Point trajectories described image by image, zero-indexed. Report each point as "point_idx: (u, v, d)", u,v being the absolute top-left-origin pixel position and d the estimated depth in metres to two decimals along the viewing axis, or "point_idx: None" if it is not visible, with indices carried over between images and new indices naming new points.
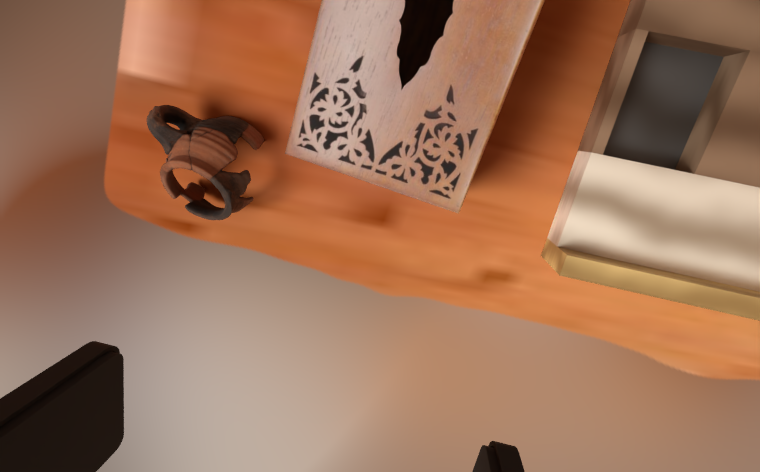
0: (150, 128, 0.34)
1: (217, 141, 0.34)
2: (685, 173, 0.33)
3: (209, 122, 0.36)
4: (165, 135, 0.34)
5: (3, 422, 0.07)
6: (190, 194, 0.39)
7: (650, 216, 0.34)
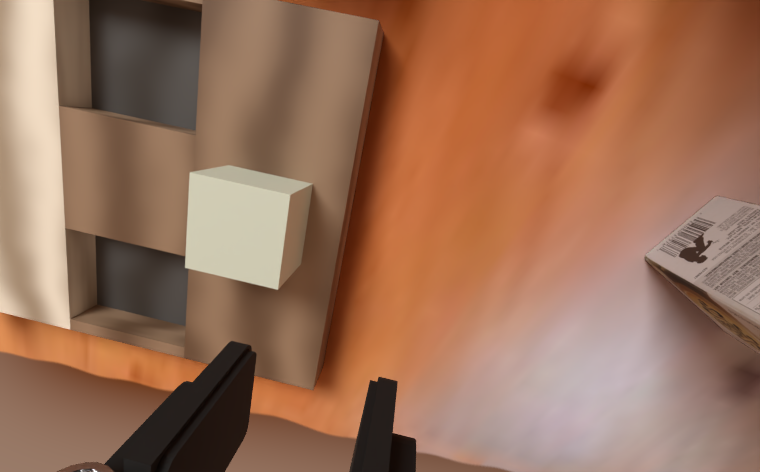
0: None
1: None
2: (56, 94, 0.26)
3: None
4: None
5: (196, 410, 0.08)
6: None
7: None
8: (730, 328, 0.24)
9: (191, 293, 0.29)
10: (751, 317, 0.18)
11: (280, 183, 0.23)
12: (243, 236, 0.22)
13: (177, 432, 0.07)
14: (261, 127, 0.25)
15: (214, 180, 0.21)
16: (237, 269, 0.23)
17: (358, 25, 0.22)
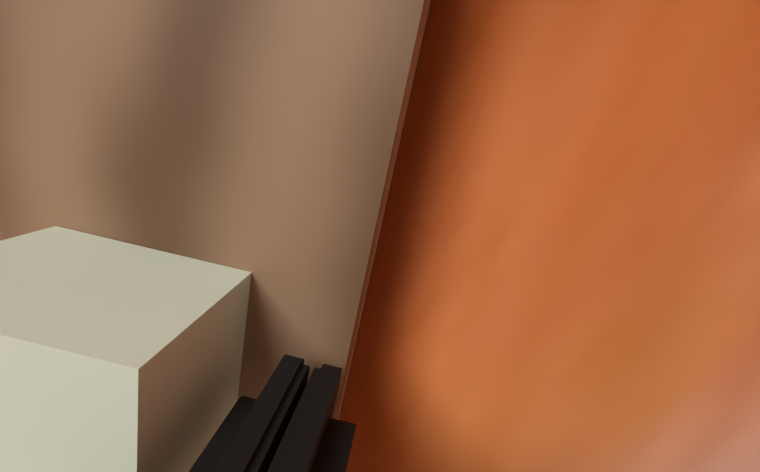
0: None
1: None
2: None
3: None
4: None
5: (266, 429, 0.08)
6: None
7: None
8: None
9: None
10: None
11: (151, 291, 0.09)
12: (17, 468, 0.07)
13: (253, 453, 0.07)
14: (146, 143, 0.10)
15: None
16: None
17: None
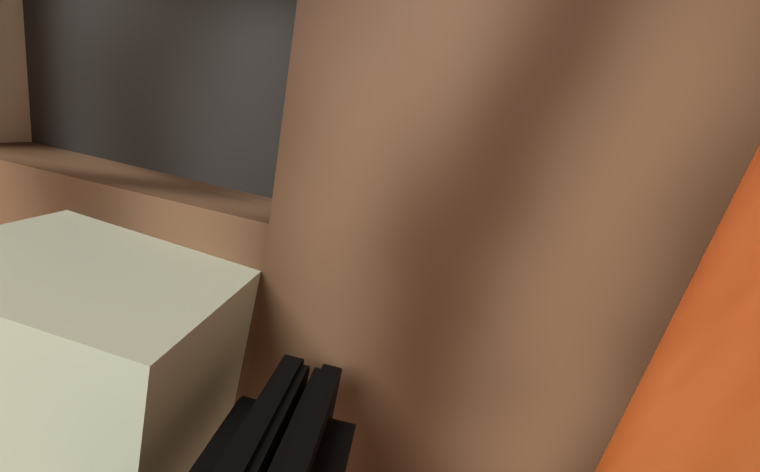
0: None
1: None
2: None
3: None
4: None
5: (266, 429, 0.08)
6: None
7: None
8: None
9: None
10: None
11: (162, 285, 0.09)
12: (18, 453, 0.07)
13: (253, 453, 0.07)
14: (441, 211, 0.10)
15: None
16: None
17: None
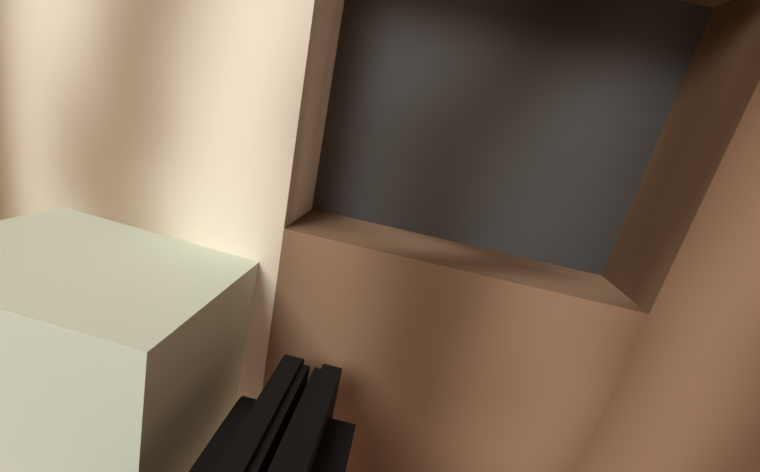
0: None
1: None
2: (283, 202, 0.10)
3: None
4: None
5: (266, 429, 0.08)
6: None
7: (136, 118, 0.10)
8: None
9: None
10: None
11: (159, 276, 0.09)
12: (18, 447, 0.07)
13: (253, 453, 0.07)
14: None
15: None
16: None
17: None
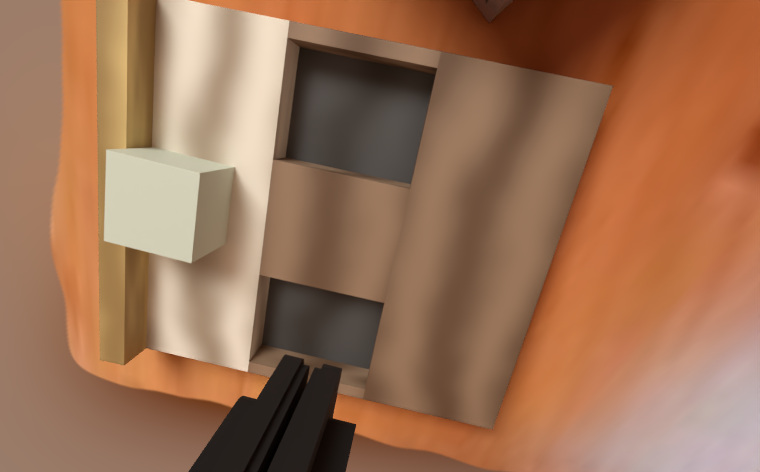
0: None
1: None
2: (272, 148, 0.26)
3: None
4: None
5: (266, 429, 0.08)
6: None
7: (216, 117, 0.26)
8: None
9: (380, 337, 0.29)
10: None
11: (198, 164, 0.25)
12: (157, 211, 0.23)
13: (253, 453, 0.07)
14: (478, 182, 0.26)
15: (129, 157, 0.23)
16: (153, 243, 0.24)
17: (591, 90, 0.23)
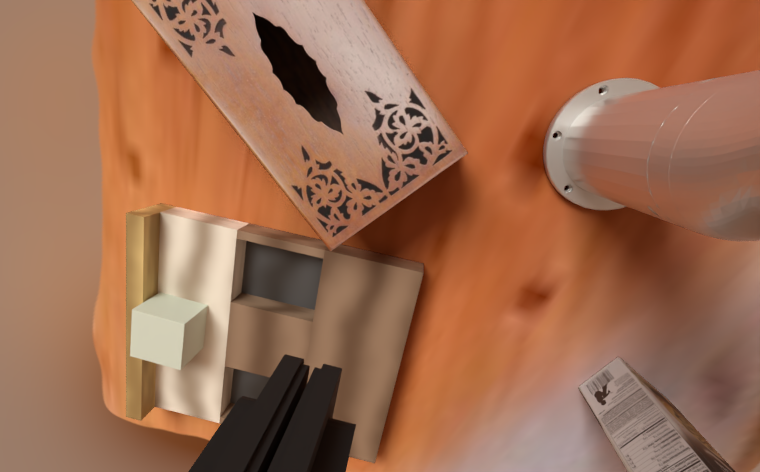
0: None
1: None
2: (230, 296, 0.43)
3: None
4: None
5: (266, 429, 0.08)
6: None
7: (196, 277, 0.43)
8: None
9: None
10: (616, 450, 0.36)
11: (185, 310, 0.42)
12: (161, 342, 0.41)
13: (253, 453, 0.07)
14: (352, 320, 0.42)
15: (144, 314, 0.40)
16: (158, 358, 0.41)
17: (411, 274, 0.40)
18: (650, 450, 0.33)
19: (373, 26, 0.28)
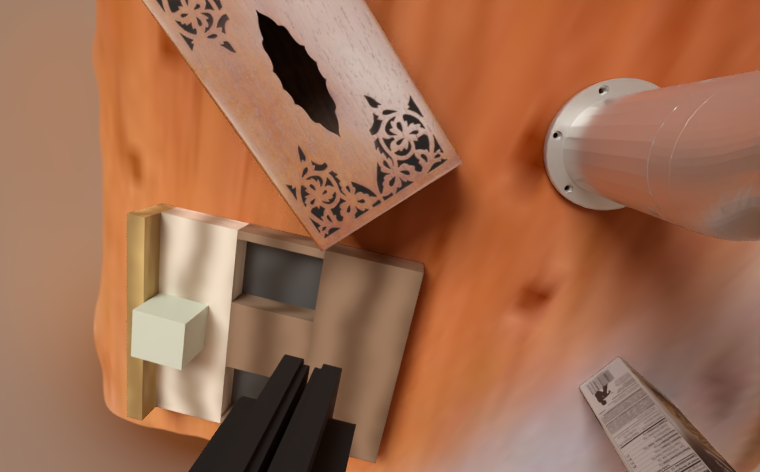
0: None
1: None
2: (230, 296, 0.43)
3: None
4: None
5: (266, 429, 0.08)
6: None
7: (196, 277, 0.43)
8: None
9: None
10: (617, 450, 0.36)
11: (185, 310, 0.42)
12: (161, 342, 0.41)
13: (253, 453, 0.07)
14: (352, 320, 0.42)
15: (145, 314, 0.40)
16: (159, 358, 0.41)
17: (412, 274, 0.40)
18: (651, 450, 0.33)
19: (376, 32, 0.28)
